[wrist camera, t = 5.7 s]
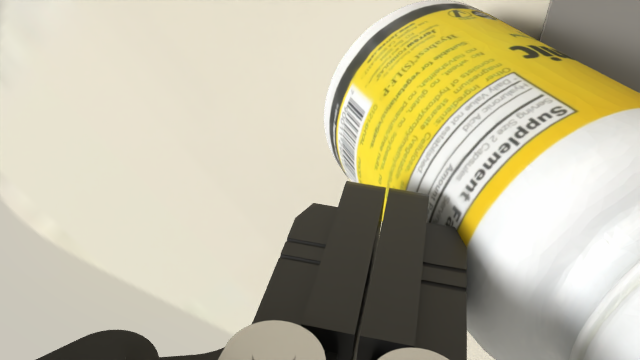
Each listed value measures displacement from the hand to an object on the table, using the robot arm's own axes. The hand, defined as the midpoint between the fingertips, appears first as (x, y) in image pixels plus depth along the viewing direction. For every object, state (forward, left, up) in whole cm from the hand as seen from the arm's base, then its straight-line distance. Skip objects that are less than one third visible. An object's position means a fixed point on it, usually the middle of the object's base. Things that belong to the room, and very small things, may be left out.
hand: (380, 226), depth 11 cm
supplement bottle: (0, 0, -6) cm, 6 cm away
